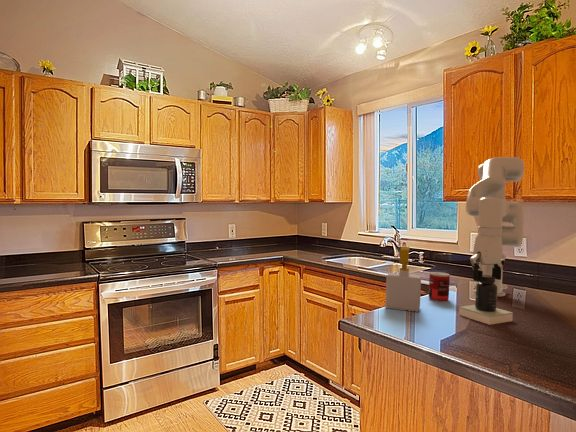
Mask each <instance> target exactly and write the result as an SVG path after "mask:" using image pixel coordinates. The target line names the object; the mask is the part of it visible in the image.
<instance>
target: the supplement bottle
mask: <svg viewBox="0 0 576 432" xmlns="http://www.w3.org/2000/svg"><path fill="white" fill-rule="evenodd" d="M494 282H495V277H494V276H490V275H483V278H482V282H479V283H478V282H477V283H476V287H475V289H476V293H475V300H474V301H475V302H474V305H475V307H476V309H478V310H482V311H487V312H494V311H496V308H498V307H497V306H498V297H497V292H498V287H497V285H496V284H494Z"/></svg>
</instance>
